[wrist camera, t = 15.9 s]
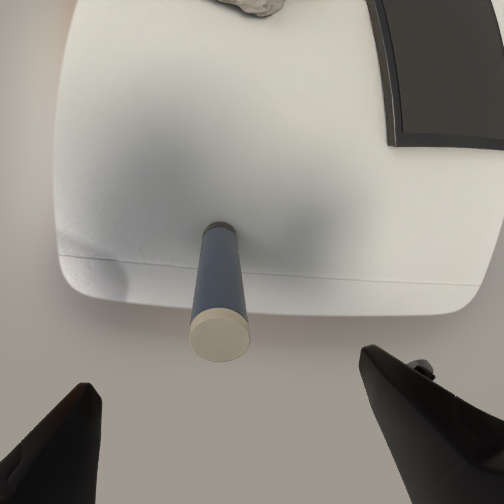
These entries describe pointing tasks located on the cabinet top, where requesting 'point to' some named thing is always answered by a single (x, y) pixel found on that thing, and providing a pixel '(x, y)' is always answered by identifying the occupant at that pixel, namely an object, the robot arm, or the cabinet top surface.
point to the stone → (258, 6)
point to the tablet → (441, 72)
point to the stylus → (219, 298)
